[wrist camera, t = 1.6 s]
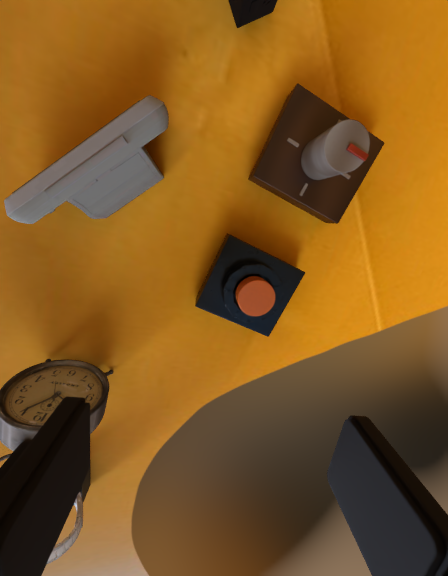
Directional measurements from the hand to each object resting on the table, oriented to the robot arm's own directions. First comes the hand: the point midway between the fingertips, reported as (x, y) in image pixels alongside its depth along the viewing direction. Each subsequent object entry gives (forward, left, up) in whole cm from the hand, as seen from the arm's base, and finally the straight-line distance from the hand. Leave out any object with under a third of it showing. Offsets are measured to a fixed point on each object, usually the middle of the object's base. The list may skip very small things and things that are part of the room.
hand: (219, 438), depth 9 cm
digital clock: (-15, +7, -26) cm, 31 cm away
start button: (+6, +1, -21) cm, 22 cm away
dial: (+6, +18, -23) cm, 30 cm away
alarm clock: (-10, -21, -26) cm, 35 cm away
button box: (+6, +1, -26) cm, 27 cm away
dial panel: (+6, +18, -26) cm, 32 cm away
